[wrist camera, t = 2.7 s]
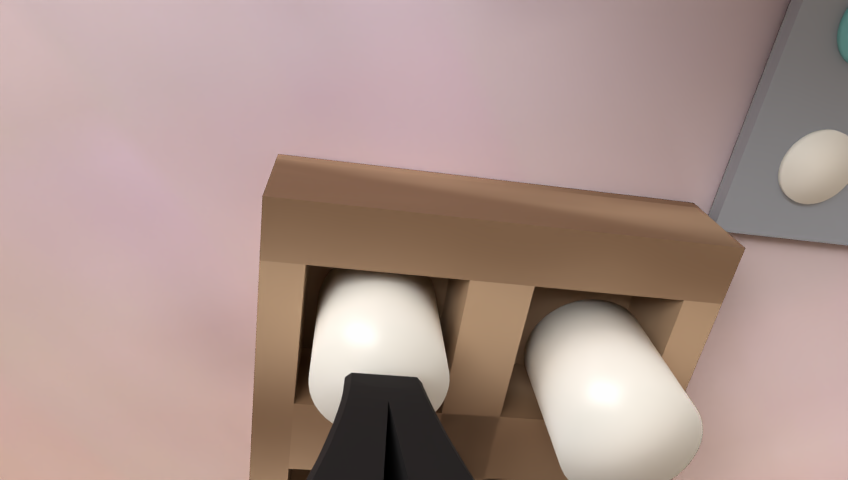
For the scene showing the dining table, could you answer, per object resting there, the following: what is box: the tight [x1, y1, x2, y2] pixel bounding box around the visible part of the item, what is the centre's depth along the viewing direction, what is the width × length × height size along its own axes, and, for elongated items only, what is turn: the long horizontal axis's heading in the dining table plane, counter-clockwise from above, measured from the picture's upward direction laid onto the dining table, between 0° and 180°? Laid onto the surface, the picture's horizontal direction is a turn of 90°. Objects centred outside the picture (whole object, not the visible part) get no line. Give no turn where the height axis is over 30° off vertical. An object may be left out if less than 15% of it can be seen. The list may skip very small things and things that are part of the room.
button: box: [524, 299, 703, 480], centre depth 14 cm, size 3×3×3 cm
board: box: [249, 154, 745, 480], centre depth 16 cm, size 12×10×2 cm
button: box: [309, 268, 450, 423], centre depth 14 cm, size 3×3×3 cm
